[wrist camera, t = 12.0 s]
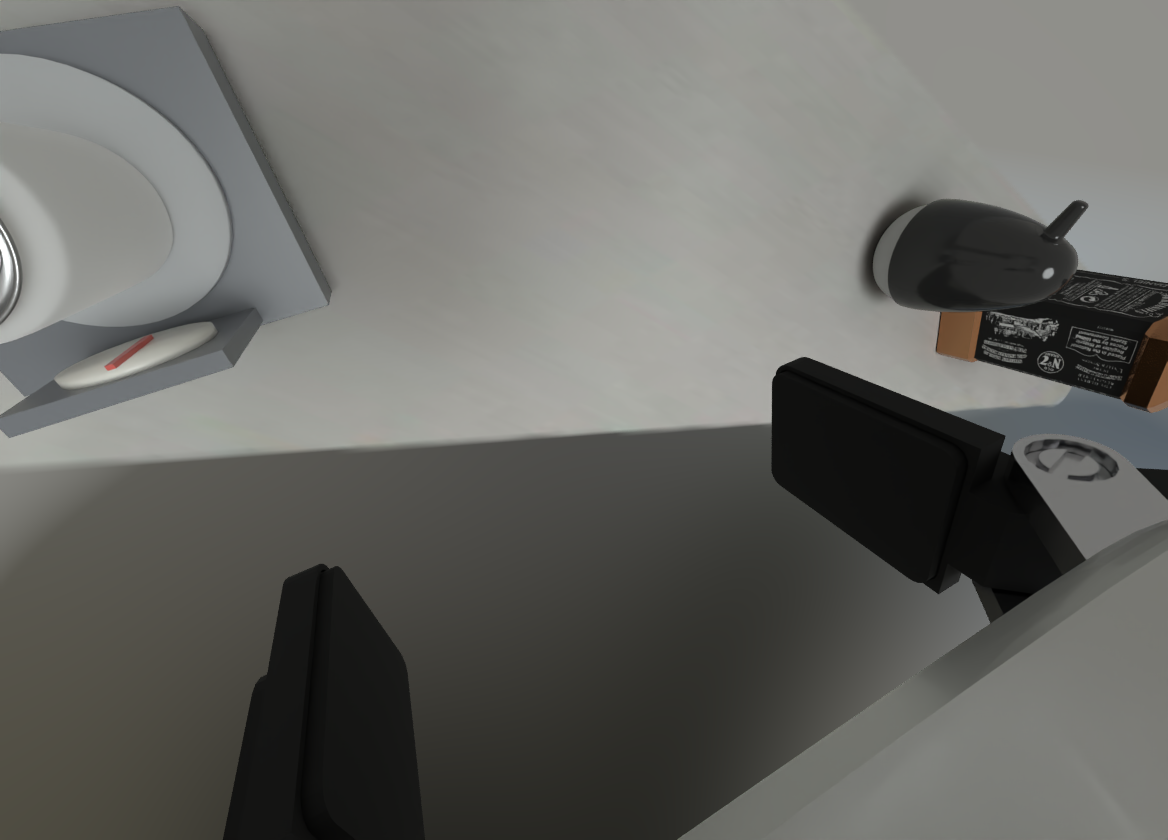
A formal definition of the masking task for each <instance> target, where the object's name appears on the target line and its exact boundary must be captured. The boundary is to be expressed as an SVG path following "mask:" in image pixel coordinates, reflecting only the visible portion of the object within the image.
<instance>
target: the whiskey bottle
mask: <svg viewBox="0 0 1168 840" xmlns="http://www.w3.org/2000/svg"><path fill="white" fill-rule="evenodd" d="M937 352H938V353H939V354H941V355H944V356H948V357H952V358H956V359H960V360H964V361H968V362H974V361H977V360H979V361H982V362H986V363H990V364H993V365H997V366H1001V367H1004V368H1008V369H1011V370H1015V371H1019V372H1022V373H1026V374H1030V375H1033V376H1037V377H1041V378H1044V379H1048V380H1052V381H1055V382H1059V383H1063V384H1066V385H1070V386H1074V387H1078V388H1081V389H1085V390H1088V391H1092V392H1096V393H1099V394H1103V395H1106V396H1110V397H1114V398H1117V399H1121V400H1122V401H1123V402H1124V403H1125V404H1126V405H1127V406H1129V407H1132V408H1136V409H1139V410H1143V411H1146V412H1149V413H1152V412H1157V411H1160V410H1162V409H1165V408H1167V407H1168V283H1163V282H1156V281H1150V280H1143V279H1136V278H1129V277H1122V276H1116V275H1109V274H1103V273H1096V272H1090V271H1083V270H1076V273H1075V275H1074V277H1073V279H1072V280H1071V281H1070V283H1069V284H1068V285H1067V286H1066V287H1065V288H1064V289H1063V290H1062V291H1060V292H1059V293H1058V294H1056V295H1054V296H1053V297H1051V298H1049V299H1046V300H1044V301H1041V302H1037V303H1034V304H1030V305H1026V306H1021V307H1016V308H1010V309H1003V310H994V311H984V312H967V313H952V312H942V313H941V321H940V329H939V336H938V344H937Z"/></svg>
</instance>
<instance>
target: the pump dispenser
mask: <svg viewBox="0 0 1168 840" xmlns="http://www.w3.org/2000/svg"><path fill="white" fill-rule="evenodd" d="M1087 208H1088V204H1087V203H1086V202H1084V201H1081V200H1077V201H1074V202H1072V203H1071V204H1070V205H1069V206H1068V207H1067V208H1066V209H1065V210H1064V211H1063V212H1062V213H1061V214H1060V215H1059V216H1058V217H1057V218H1056V219H1055V220H1054V221H1053V222H1052V223H1051V224H1050V225H1049V226H1048V227H1047V226H1045V225H1043V224H1041V223H1039V222H1038V221H1035V220H1033V219H1031V218H1029V217H1027V216H1024V215H1022V214H1019V213H1016V212H1013V211H1011V210H1007V209H1004V208H1001V207H997V206H993V205H989V204H984V203H979V202H973V201H967V200H960V199H941V200H937V201H934V202H932V203H930V204H927V205H923V206H920V207H917V208H914V209H912V210H910V211H908V212H906V213H905V214H903V215H902V216H900V217H899V218H898V219H896V220H895V221H894V222H893V223H892V224H891V225H890V226H889V227H888V228H887V230H886V231H885V232H884V234H883V235H882V237H881V239H880V241H879V243H878V245H877V247H876V250H875V254H874V258H873V274H874V278H875V280H876V283H877V285H878V286H879V288H880V289H881V290H882V291H883V292H884V293H885V294H886V295H887V296H889V297H890V298H892V299H893V300H894V301H895V302H896V303H897V304H899V305H901V306H903V307H907V308H911V309H917V310H925V311H935V312H952V313H967V312H984V311H994V310H1003V309H1010V308H1016V307H1021V306H1026V305H1030V304H1034V303H1037V302H1041V301H1044V300H1046V299H1049V298H1051V297H1053V296H1054V295H1056V294H1058V293H1059V292H1060V291H1062V290H1063V289H1064V288H1065V287H1066V286H1067V285H1068V284H1069V283H1070V281H1071V280H1072V279H1073V277H1074V275H1075V273H1076V270H1077V267H1078V255H1077V252H1076V250H1075V249H1074V247H1073V246H1072V245H1071V244H1070V243H1069V242H1068V241H1067V240H1066V239H1065V238H1064V237H1065V235H1066V234H1067V233H1068V231H1069V230H1070V229H1071V228H1072V227H1073V225H1074V224H1075V223H1076V222H1077V220H1078V219H1079V218H1080V217H1081V215H1082V214H1083V213H1084V212H1085V211H1086V209H1087Z"/></svg>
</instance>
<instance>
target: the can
mask: <svg viewBox="0 0 1168 840" xmlns="http://www.w3.org/2000/svg"><path fill="white" fill-rule="evenodd" d="M172 242H173V232H172V226H171V222H170V218H169V215H168V213H167V210H166V208H165V206H164V204H163V202H162V200H161V198H160V196H159V195H158V193H157V191H156V190H155V189H154V187H153V186H152V185H151V184H150V182H149V181H148V180H147V179H146V178H145V177H144V176H143V175H142V174H141V173H140V172H139V171H138V170H137V169H136V168H134V167H133V166H132V165H131V164H130V163H128V162H127V161H126V160H124V159H123V158H121V157H120V156H118V155H117V154H115V153H113V152H112V151H110V150H108V149H106V148H104V147H102V146H100V145H98V144H96V143H93V142H91V141H88V140H86V139H83V138H80V137H77V136H73V135H69V134H65V133H61V132H56V131H50V130H45V129H40V128H34V127H28V126H22V125H17V124H11V123H5V122H0V344H2V343H6V342H10V341H13V340H16V339H19V338H22V337H24V336H27V335H29V334H32V333H34V332H36V331H39V330H41V329H43V328H45V327H47V326H50V325H52V324H54V323H56V322H58V321H60V320H63V319H65V318H67V317H69V316H71V315H73V314H76V313H78V312H80V311H82V310H84V309H86V308H88V307H90V306H93V305H95V304H97V303H99V302H101V301H103V300H105V299H107V298H109V297H111V296H114V295H116V294H118V293H120V292H122V291H124V290H126V289H128V288H130V287H132V286H134V285H136V284H138V283H140V282H142V281H144V280H145V279H147V278H149V277H150V276H152V275H153V274H154V273H155V272H156V271H158V270H159V269H160V267H161V266H162V265H163V264H164V262H165V261H166V259H167V257H168V255H169V253H170V250H171V247H172Z"/></svg>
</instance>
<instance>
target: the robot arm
mask: <svg viewBox="0 0 1168 840" xmlns="http://www.w3.org/2000/svg"><path fill="white" fill-rule="evenodd" d="M1004 439H1005V435H1002V434H1000V433H997V432H994V431H992V430H990V429H987V428H984V427H982V426H979V425H977V424H974V423H972V422H969V421H967V420H964V419H962V418H959V417H957V416H954V415H952V414H949V413H947V412H944V411H942V410H939V409H937V408H934V407H931V406H929V405H926V404H924V403H921V402H919V401H916V400H914V399H911V398H909V397H906V396H904V395H901V394H899V393H896V392H894V391H891V390H889V389H886V388H884V387H881V386H878V385H876V384H873V383H871V382H868V381H866V380H863V379H861V378H858V377H856V376H853V375H851V374H848V373H846V372H843V371H841V370H838V369H836V368H833V367H831V366H828V365H825V364H823V363H820V362H818V361H815V360H813V359H810V358H807V357H802V358H799V359H796V360H794V361H792V362H789V363H787V364H785V365H782V366H781V367H779V368H778V370H777V371H776V376H775V377H774V378H773V381H772V474H773V477H774V478H775V480H776V482H777V483H778V484H779V485H781V486H782V487H783V488H785V489H786V490H787V491H789V492H790V493H791V494H793V495H794V496H796V497H797V498H799V499H800V500H801V501H803V502H804V503H805V504H807V505H808V506H809V507H811V508H812V509H814V510H815V511H816V512H818V513H819V514H821V515H822V516H823V517H825V518H826V519H828V520H829V521H830V522H832V523H833V524H834V525H836V526H837V527H839V528H840V529H841V530H843V531H844V532H846V533H847V534H848V535H850V536H851V537H852V538H854V539H855V540H856V541H858V542H859V543H861V544H862V545H863V546H865V547H866V548H868V549H869V550H870V551H872V552H873V553H875V554H876V555H877V556H879V557H880V558H881V559H883V560H884V561H885V562H887V563H888V564H890V565H891V566H892V567H894V568H895V569H897V570H898V571H899V572H901V573H902V574H903V575H905V576H906V577H908V578H909V579H911V580H912V581H915V582H918V583H924V584H925V585H926V586H928V587H929V588H931V589H932V590H933V591H935V592H936V593H938V594H940V593H941V592H943V591H944V590H946V589H947V588H949V587H951V586H952V585H953V584H955V583H957V582H958V581H959V578H960V575H961V573H963V574H964V575H966V576H967V577H969V578H970V579H972V583H973V585H974V587H975V590H976V592H977V594H978V596H979V599H980V601H981V603H982V605H983V608H984V610H985V612H986V615H987V617H988V619H989V621H990V624H989V625H988V626H986V627H985V628H983V629H982V630H980V631H979V632H977V633H976V634H975V635H973V636H972V637H970V638H969V639H967V640H966V641H964V642H963V643H961V644H960V645H958V646H957V647H956V648H954V649H952V650H951V651H950V652H948V653H947V654H945V655H944V656H942V657H941V658H939V659H938V660H936V661H935V662H933V663H932V664H931V665H929V666H928V667H926V668H925V669H923V670H922V671H920V672H919V673H918V674H916V675H915V676H913V677H912V678H910V679H909V680H907V681H906V682H904V683H903V684H901V685H900V686H899V687H897V688H896V689H894V690H893V691H891V692H890V693H888V694H887V695H885V696H884V697H882V698H881V699H880V700H878V701H877V702H875V703H874V704H873V705H871V706H869V707H868V708H867V709H865V710H864V711H862V712H861V713H859V714H858V715H856V716H855V717H854V718H852V719H851V720H849V721H848V722H846V723H845V724H844V725H842V726H840V727H839V728H837V729H836V730H835V731H833V732H832V733H830V734H829V735H827V736H826V737H824V738H823V739H822V740H820V741H819V742H817V743H816V744H814V745H813V746H812V747H810V748H809V749H807V750H806V751H804V752H803V753H801V754H800V755H799V756H797V757H796V758H794V759H793V760H791V761H790V762H788V763H787V764H785V765H784V766H782V767H781V768H780V769H778V770H777V771H775V772H774V773H772V774H771V775H769V776H768V777H767V778H765V779H764V780H762V781H761V782H759V783H758V784H756V785H755V786H754V787H752V788H751V789H749V790H748V791H746V792H745V793H744V794H742V795H741V796H739V797H738V798H736V799H735V800H734V801H732V802H731V803H729V804H728V805H726V806H725V807H724V808H722V809H721V810H719V811H718V812H716V813H715V814H713V815H712V816H711V817H709V818H708V819H706V820H705V821H703V822H702V823H701V824H699V825H698V826H696V827H695V828H693V829H692V830H691V831H689V832H688V833H686V834H685V835H683V836H682V837H680V838H679V839H678V840H1168V470H1159V469H1141V468H1135V467H1134V466H1133V465H1132V464H1131V463H1130V462H1129V461H1128V460H1127V459H1126V458H1124V457H1123V456H1122V455H1120V454H1119V453H1118V452H1116V451H1114V450H1112V449H1110V448H1108V447H1106V446H1104V445H1102V444H1099V443H1096V442H1093V441H1090V440H1087V439H1084V438H1079V437H1073V436H1068V435H1057V434H1039V435H1031V436H1028V437H1025V438H1021V439H1020V440H1019V441H1017V442H1016V443H1015V444H1014V446H1013V449H1012V452H1011V455H1008V454H1006V453H1003V452H1001V448H1002V445H1003V442H1004ZM223 840H425V834H424V825H423V815H422V806H421V796H420V787H419V777H418V769H417V759H416V749H415V740H414V730H413V720H412V711H411V701H410V692H409V682H408V673H407V669H406V664H405V662H404V659H403V657H402V655H401V653H400V652H399V650H398V649H397V647H396V646H395V644H394V643H393V642H392V640H391V639H390V637H389V636H388V635H387V633H386V632H385V630H384V629H383V627H382V626H381V624H380V623H379V622H378V620H377V619H376V617H375V616H374V614H373V613H372V612H371V610H370V609H369V607H368V606H367V604H366V603H365V602H364V600H363V599H362V597H361V596H360V594H359V593H358V592H357V590H356V589H355V587H354V586H353V585H352V583H351V582H350V580H349V579H348V577H347V576H346V574H345V573H344V572H343V570H342V569H341V568H340V567H338V566H335V567H333V568H331V569H329V568H328V567H327V566H326V565H324V564H319V565H316V566H314V567H312V568H309V569H307V570H305V571H303V572H300V573H298V574H295V575H293V576H291V577H288V578H287V579H286V580H285V581H284V584H283V589H282V594H281V600H280V605H279V611H278V617H277V622H276V628H275V633H274V639H273V645H272V650H271V656H270V661H269V667H268V673H267V675H265V676H263V677H261V678H260V679H259V680H258V682H257V683H256V684H255V687H254V690H253V693H252V697H251V702H250V707H249V712H248V717H247V722H246V727H245V732H244V737H243V742H242V747H241V752H240V757H239V762H238V767H237V772H236V777H235V782H234V787H233V792H232V797H231V802H230V807H229V812H228V817H227V822H226V827H225V832H224V837H223Z"/></svg>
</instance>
